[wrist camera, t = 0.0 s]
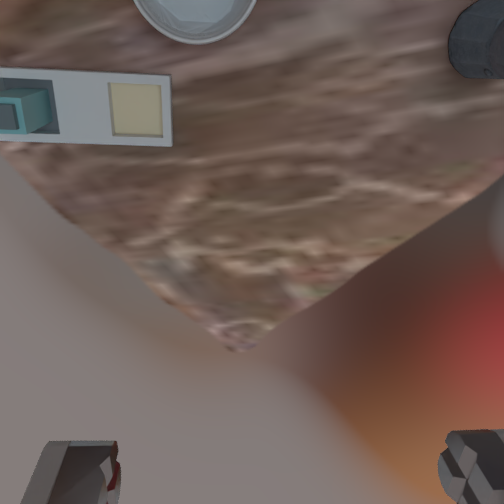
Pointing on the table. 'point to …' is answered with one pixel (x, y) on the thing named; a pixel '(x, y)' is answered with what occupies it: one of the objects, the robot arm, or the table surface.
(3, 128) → the teal plug
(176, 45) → the table surface
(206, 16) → the ramekin
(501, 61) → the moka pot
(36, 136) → the socket panel
